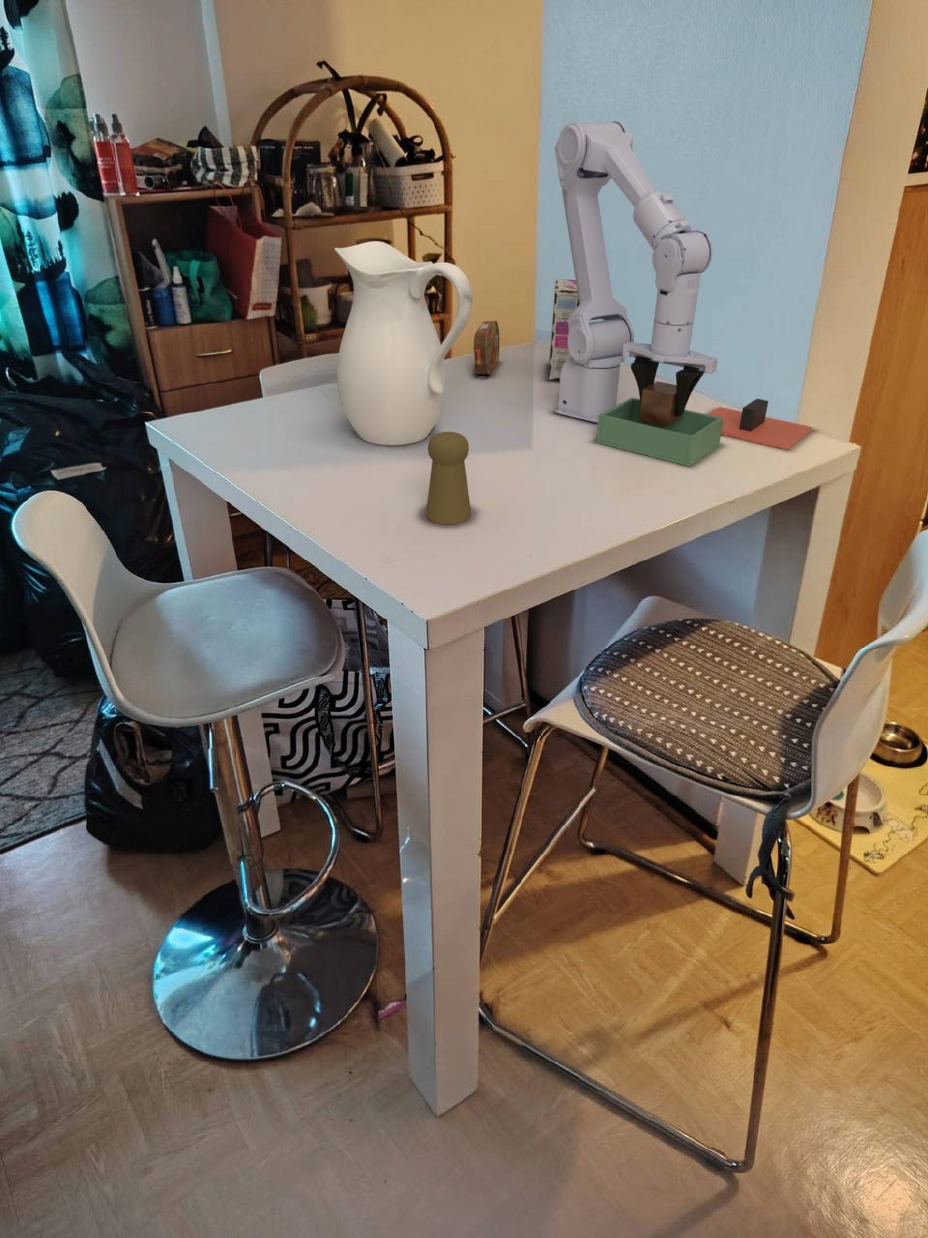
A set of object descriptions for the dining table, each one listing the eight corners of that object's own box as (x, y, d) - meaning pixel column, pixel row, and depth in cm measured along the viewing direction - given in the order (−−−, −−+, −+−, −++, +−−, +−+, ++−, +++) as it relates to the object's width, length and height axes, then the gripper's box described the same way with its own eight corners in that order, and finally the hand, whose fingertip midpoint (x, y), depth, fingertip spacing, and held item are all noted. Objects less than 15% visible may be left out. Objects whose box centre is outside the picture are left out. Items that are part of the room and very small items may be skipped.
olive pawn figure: (424, 505, 120) (423, 427, 115) (469, 504, 121) (470, 426, 115) (426, 525, 115) (425, 444, 109) (473, 523, 116) (474, 443, 110)
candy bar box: (574, 382, 168) (581, 291, 159) (548, 381, 168) (553, 290, 160) (574, 365, 177) (581, 278, 169) (549, 364, 178) (554, 277, 169)
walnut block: (638, 420, 138) (642, 388, 136) (653, 411, 142) (657, 380, 139) (668, 427, 136) (672, 395, 133) (682, 418, 139) (687, 387, 137)
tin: (487, 380, 168) (488, 335, 164) (470, 379, 169) (471, 334, 164) (500, 358, 181) (501, 316, 176) (485, 357, 181) (486, 315, 177)
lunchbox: (595, 442, 141) (598, 414, 139) (629, 423, 149) (631, 397, 146) (689, 466, 133) (693, 437, 131) (719, 445, 141) (724, 417, 138)
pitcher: (319, 434, 143) (304, 248, 128) (395, 409, 154) (390, 235, 139) (424, 475, 129) (421, 272, 115) (500, 444, 140) (506, 256, 125)
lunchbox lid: (691, 427, 147) (694, 402, 145) (718, 410, 155) (722, 386, 153) (787, 449, 139) (792, 424, 137) (811, 430, 147) (817, 405, 145)
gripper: (616, 318, 132) (607, 407, 139) (708, 334, 124) (694, 427, 132) (639, 309, 137) (629, 396, 144) (728, 324, 129) (713, 415, 136)
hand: (661, 410), depth 138 cm, fingers closed on walnut block, 5 cm apart
